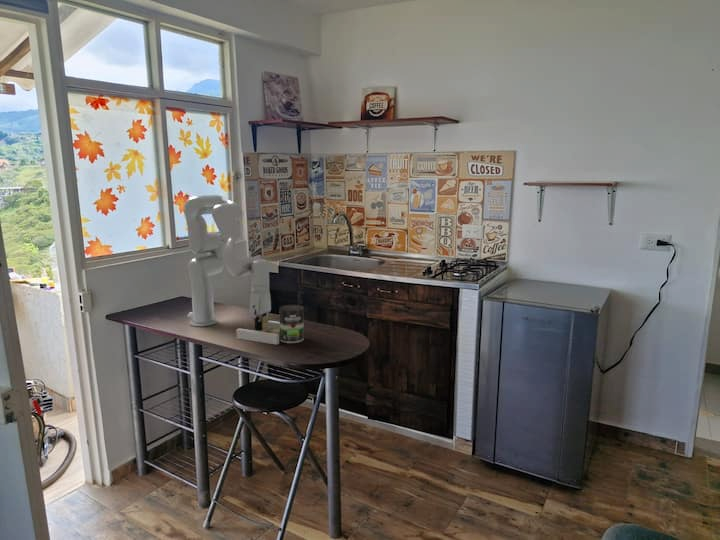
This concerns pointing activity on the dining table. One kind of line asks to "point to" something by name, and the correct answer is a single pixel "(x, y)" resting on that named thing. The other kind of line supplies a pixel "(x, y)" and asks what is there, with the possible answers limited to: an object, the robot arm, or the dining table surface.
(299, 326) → the coffee can
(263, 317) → the wooden rectangular block
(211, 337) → the dining table surface
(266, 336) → the white rectangular posts
